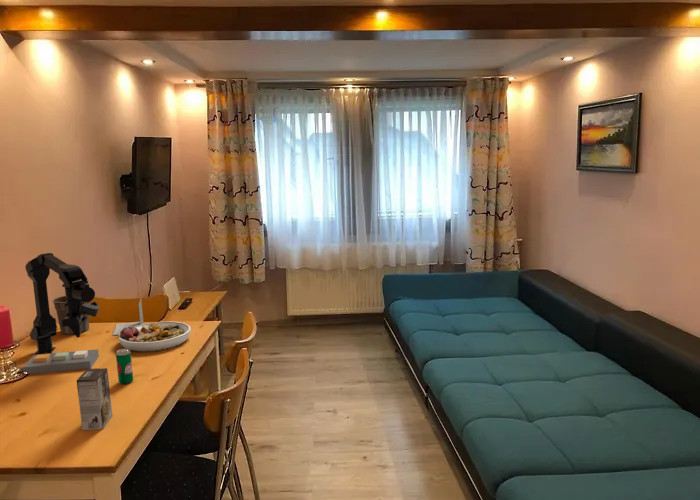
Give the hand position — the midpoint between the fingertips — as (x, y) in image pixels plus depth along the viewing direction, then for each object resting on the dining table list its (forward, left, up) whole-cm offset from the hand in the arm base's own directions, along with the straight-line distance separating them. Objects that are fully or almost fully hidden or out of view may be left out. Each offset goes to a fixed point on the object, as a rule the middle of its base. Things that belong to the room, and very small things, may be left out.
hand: (78, 337), depth 224 cm
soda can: (+25, +21, -11) cm, 35 cm away
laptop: (-44, +11, -12) cm, 46 cm away
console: (0, -7, -11) cm, 13 cm away
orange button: (0, -14, -9) cm, 17 cm away
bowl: (-20, +26, -12) cm, 35 cm away
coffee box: (+57, +18, -11) cm, 61 cm away
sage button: (0, -7, -9) cm, 12 cm away
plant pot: (-48, -14, -11) cm, 51 cm away
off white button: (0, 0, -9) cm, 9 cm away
